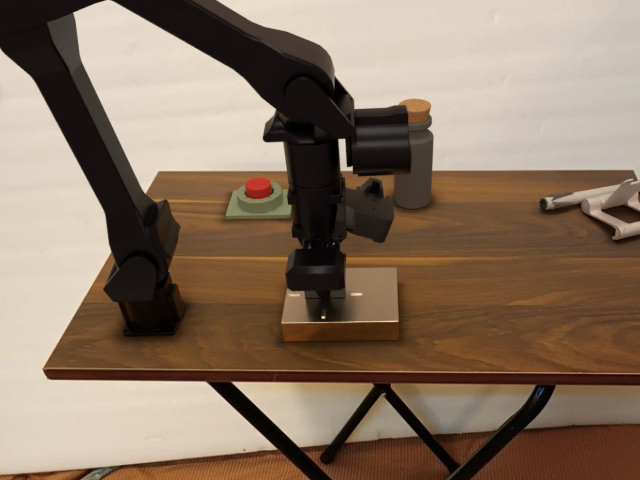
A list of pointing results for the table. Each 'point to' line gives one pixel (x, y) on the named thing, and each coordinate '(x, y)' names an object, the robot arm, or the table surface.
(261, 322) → the table surface
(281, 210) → the switch block
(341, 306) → the panel
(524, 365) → the table surface
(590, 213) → the tablet stand
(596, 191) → the rocket model
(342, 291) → the stove knob
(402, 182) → the bottle
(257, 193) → the button
